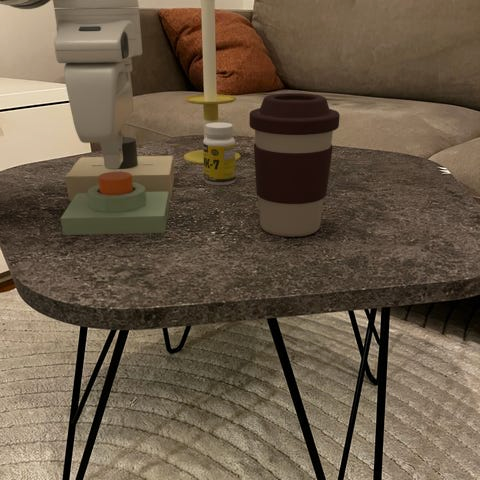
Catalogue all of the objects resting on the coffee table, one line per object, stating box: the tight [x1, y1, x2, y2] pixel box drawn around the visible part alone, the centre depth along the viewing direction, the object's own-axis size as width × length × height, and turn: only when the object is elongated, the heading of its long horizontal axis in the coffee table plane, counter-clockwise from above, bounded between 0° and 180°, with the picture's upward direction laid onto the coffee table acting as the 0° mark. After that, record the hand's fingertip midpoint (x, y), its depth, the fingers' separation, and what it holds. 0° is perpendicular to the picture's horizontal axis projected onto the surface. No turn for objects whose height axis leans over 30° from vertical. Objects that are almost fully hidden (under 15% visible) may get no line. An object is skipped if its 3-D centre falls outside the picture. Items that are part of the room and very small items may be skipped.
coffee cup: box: [249, 92, 341, 238], centre depth 68 cm, size 10×10×15 cm
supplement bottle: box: [202, 122, 236, 186], centre depth 88 cm, size 5×5×8 cm
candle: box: [183, 0, 241, 165], centre depth 97 cm, size 10×10×27 cm
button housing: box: [60, 183, 171, 236], centre depth 73 cm, size 12×10×4 cm
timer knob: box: [118, 134, 138, 169], centre depth 84 cm, size 4×4×4 cm
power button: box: [98, 172, 133, 195], centre depth 72 cm, size 4×4×2 cm
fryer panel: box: [65, 155, 175, 202], centre depth 86 cm, size 14×11×4 cm
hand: (114, 166), depth 71 cm, fingers closed
